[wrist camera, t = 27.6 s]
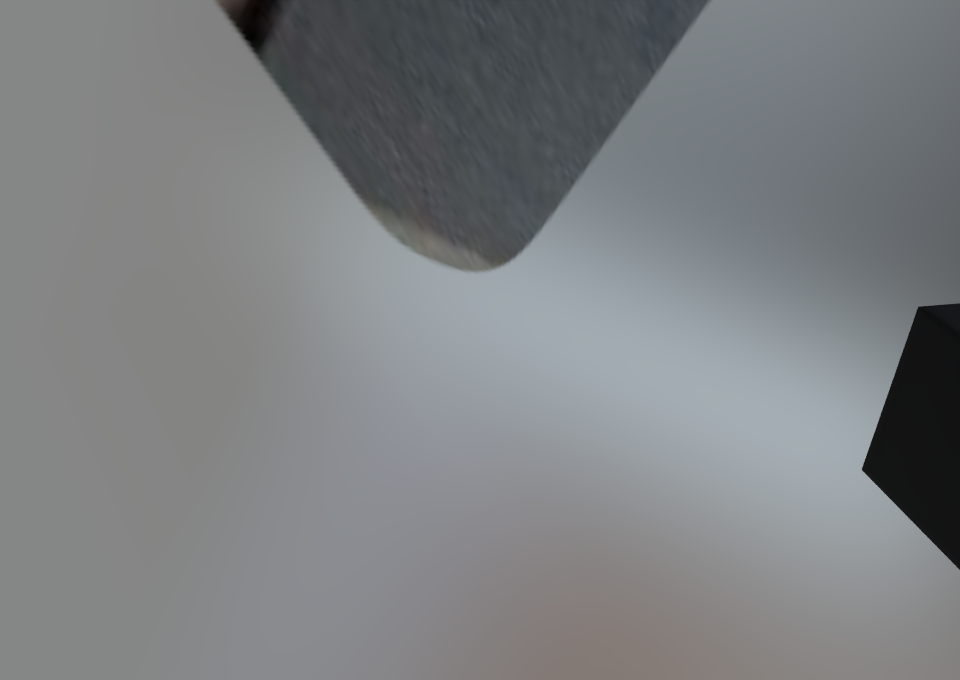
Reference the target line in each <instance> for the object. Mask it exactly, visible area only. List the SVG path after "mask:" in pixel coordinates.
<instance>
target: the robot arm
mask: <svg viewBox="0 0 960 680" xmlns="http://www.w3.org/2000/svg"><path fill="white" fill-rule="evenodd" d="M862 470H863V472H865V474H866V475H867V476H868V477H870V479H871V480H872V481H873V482H874V483H875V484H876V485H877V486H878V487H879V488H880V489H881V490H882V491H883V492H884V493H885V494H886V495H887V496H888V497H889V498H890V499H891V500H892V501H893V502H894V503H895V504H896V505H897V506H898V507H899V508H900V509H901V510H902V511H903V512H904V513H905V514H906V515H907V516H908V517H909V518H910V519H911V521H913V522H914V524H916V526H917V527H918V528H919V529H920V530H921V531H922V532H923V533H924V534H925V535H926V536H927V537H928V538H929V539H930V540H931V541H932V542H933V543H934V544H935V545H936V546H937V547H938V548H939V549H940V550H941V551H942V552H943V553H944V554H945V555H946V556H947V557H948V558H949V559H950V560H951V561H952V562H953V563H954V564H955V565H956V566H957V567H958V568H959V569H960V304H948V305H935V306H923V307H918V309H917V312H916V315H915V318H914V321H913V324H912V327H911V330H910V332H909V335H908V339H907V341H906V344H905V347H904V350H903V353H902V356H901V358H900V361H899V364H898V367H897V370H896V373H895V376H894V378H893V381H892V384H891V387H890V390H889V393H888V396H887V399H886V401H885V404H884V407H883V410H882V413H881V416H880V419H879V422H878V424H877V428H876V430H875V433H874V436H873V439H872V442H871V444H870V447H869V450H868V453H867V456H866V459H865V462H864V465H863V467H862Z"/></svg>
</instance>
